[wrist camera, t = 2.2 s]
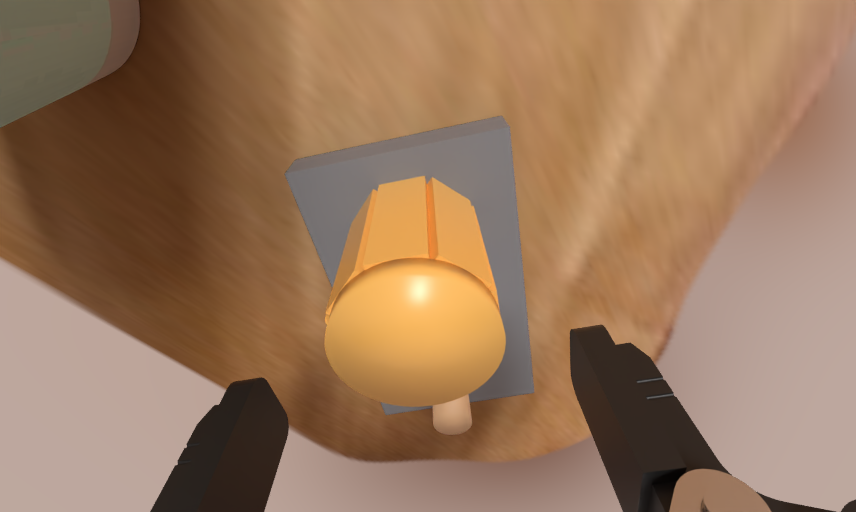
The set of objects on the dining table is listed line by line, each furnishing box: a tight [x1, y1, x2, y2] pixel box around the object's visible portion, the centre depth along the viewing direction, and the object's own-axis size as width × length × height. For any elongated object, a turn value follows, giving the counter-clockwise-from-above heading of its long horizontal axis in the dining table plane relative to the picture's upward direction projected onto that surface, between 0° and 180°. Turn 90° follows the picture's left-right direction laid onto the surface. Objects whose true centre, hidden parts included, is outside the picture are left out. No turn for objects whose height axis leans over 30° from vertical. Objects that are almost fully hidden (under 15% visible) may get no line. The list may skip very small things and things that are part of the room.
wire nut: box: [325, 176, 506, 407], centre depth 13 cm, size 5×5×6 cm
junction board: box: [285, 116, 534, 435], centre depth 17 cm, size 14×8×5 cm, turn 12°
